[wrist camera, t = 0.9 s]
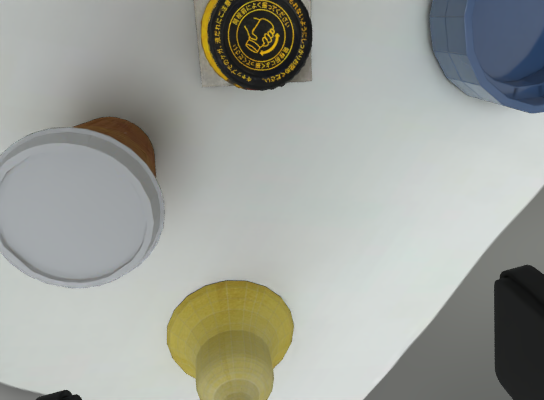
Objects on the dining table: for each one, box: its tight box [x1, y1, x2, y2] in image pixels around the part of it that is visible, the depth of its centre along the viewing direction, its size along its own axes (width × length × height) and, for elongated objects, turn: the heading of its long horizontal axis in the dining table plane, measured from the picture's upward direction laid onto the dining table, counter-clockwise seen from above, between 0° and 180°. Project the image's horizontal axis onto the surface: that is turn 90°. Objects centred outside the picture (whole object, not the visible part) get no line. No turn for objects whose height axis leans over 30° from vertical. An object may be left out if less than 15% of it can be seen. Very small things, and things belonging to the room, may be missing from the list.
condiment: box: [193, 0, 312, 91], centre depth 27 cm, size 7×8×12 cm
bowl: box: [429, 0, 544, 113], centre depth 32 cm, size 14×14×6 cm
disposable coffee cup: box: [0, 117, 165, 288], centre depth 29 cm, size 10×10×12 cm
